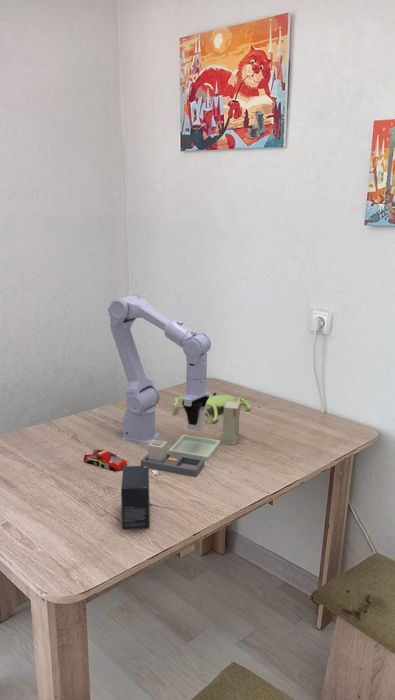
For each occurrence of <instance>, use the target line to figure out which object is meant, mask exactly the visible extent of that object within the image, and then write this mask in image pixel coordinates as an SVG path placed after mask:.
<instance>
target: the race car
mask: <svg viewBox="0 0 395 700" xmlns="http://www.w3.org/2000/svg"><path fill="white" fill-rule="evenodd" d="M83 462H84V463H85V464H89V465H92V466H94V467H95V466H96V467H99V468H102V469H106V470H109V471H112V472H116V473H117V472H121V471H122V472H123V467H126V466H128V464H127V463H128V462H127V460H125V459H124V458H121V457H120V456H118V455H117V453H115V454H114V453H113V452H111V451H109V450H104V449H91V450H89V451H87V452H85V454H84V456H83Z"/></svg>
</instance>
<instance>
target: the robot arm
mask: <svg viewBox="0 0 395 700" xmlns="http://www.w3.org/2000/svg"><path fill="white" fill-rule="evenodd" d="M107 312H108V314H109V315H108V316H109V318H110V320H109V321H110V322H109V323H110V326H109V327H110V331H111V334H112V337H113V340H114V343H115V345H116V349H117V353H118V355H119V357H120V362H121V364H122V367H123V369H124V374H125V375H126V378H127V382H128V384H127V387H126V389H125V392H124V393H125V395H126V406H127V408H126V409H125V411H124V413H123V417H122V434H123V435H122V438H121V439H123V440H131V441H134V442H140V443H141V442H142V443H147V444H150V443H151V442H152V441H153V440H156V438H157V437H158V436H159V435H160V434H161V433H160V432H158V431H156V408H157V405H158V403H159V402H160V399H161V397H160V396H161V395H160V392H159V390H158V389H157V388H156V386H155V385H154V383H153V382H154V381H152V379H149V378H148V377H147V376H146V373H145V370H144V367H143V364H142V361H141V358H140V355H139V352H138V348H137V345H136V342H135V340H134V337H133V336H134V335H133V334H132V331H131V327H132V326H133V323H134V322H135V320H136V319H144V320H145V321H147V322H148V323H150V324H152V325H153V326H155V327H157V328H159V329H161V330H162V331H164V336H165V337H166V338H167V339H169V340H170V341H171V342H172V343H174V344H176V345H178V347H180V348H181V349H182V351H183V353H184V354H185V357H186V359H185V361H186V383H185V384H186V385H185V386H186V387H185V389H186V390H185V395H184V396H185V399H184V400H181V401H182V402H181V404H182V407H183V408H184V410H185V413H186V417H187V418H188V422H189V424H191V425H196V424H197V421H198V414H199V410H200V408H201V406H202V407H205V408H206V406H207V405H206V402H207V400H208V398H209V395H211V392H210V391H208V384H207V374H208V373H207V371H208V367H207V365H208V352H209V351H210V350H211V348H212V347H211V345H212V342H211V339H210V338H209V336H207V334H205V333H204V332H200V333H197V331H196V330H194V329H191V328H189V327H188V326H186V324H184V322H183V320H177V319H174V320H170V318H167V316H165V315H164V314H162V312H160V311H158V310H157V309H156V308H155V307H153V306H152V305H150V303H148V301H147V299H146V298H142V297H141V296H140V295H139V294H131V295H129V296H123V297H118V298H115V299H113V300H112V301H111V303H110V304H109V306H108V308H107Z"/></svg>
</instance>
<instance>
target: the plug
mask: <svg viewBox="0 0 395 700" xmlns="http://www.w3.org/2000/svg"><path fill="white" fill-rule="evenodd" d="M205 410H206V406H205V407H202V406H201V408H200V410H199V414H198V421H197V424H196V425H191V424H189V422H188V417H187V421H186V424H187V425H186V427H187V428H186V429H187V430H189V431H195V432H201V431H202V430H203V429H204V428H205V427H206V426H205V425H206V419H205V416H206V414H205Z"/></svg>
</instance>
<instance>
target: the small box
mask: <svg viewBox="0 0 395 700" xmlns="http://www.w3.org/2000/svg"><path fill="white" fill-rule="evenodd" d="M149 472H150V468H149V466H141V465H134V466H133V465H131V466H130V465H127V466H126V467H123V470H122V477H121V487H120V488H121V489H120V504H121V505H120V507H121V511H120V512H121V527H122V529H123V530H128V529H130V530H131V529H133V530H136V529H150V526H151V525H150V524H151V523H150V519H151V518H150V517H151V513H150V512H151V508H150V507H151V506H150V501H151V500H150V473H149Z"/></svg>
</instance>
